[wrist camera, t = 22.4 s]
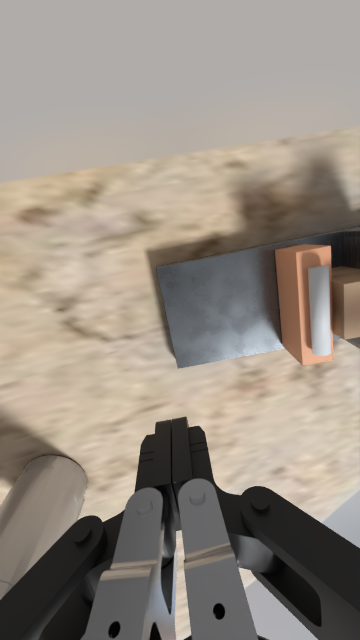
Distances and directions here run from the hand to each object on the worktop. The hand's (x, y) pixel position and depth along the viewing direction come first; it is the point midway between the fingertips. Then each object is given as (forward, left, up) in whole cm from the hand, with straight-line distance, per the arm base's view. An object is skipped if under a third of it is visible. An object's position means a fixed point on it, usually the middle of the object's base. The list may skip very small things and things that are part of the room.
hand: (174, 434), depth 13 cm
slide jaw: (0, -13, -18) cm, 22 cm away
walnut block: (0, -17, -18) cm, 25 cm away
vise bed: (0, -11, -20) cm, 23 cm away
